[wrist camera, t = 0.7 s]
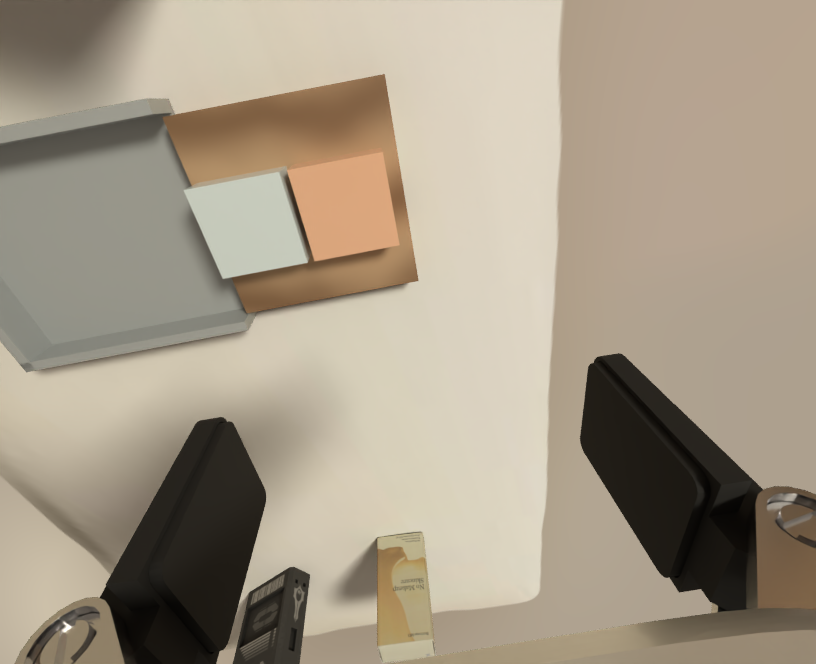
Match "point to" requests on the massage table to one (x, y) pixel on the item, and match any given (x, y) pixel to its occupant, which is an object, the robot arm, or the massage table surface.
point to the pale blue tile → (250, 222)
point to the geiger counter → (274, 620)
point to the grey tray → (103, 240)
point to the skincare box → (403, 599)
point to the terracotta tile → (345, 204)
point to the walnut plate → (292, 144)
